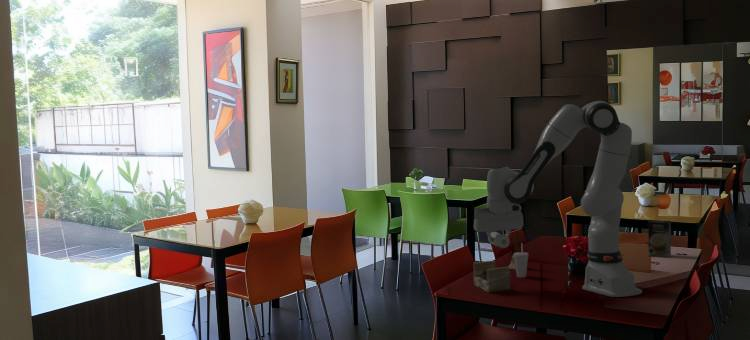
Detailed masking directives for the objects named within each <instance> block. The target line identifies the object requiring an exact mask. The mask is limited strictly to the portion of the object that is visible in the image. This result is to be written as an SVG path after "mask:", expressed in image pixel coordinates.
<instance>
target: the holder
mask: <svg viewBox="0 0 750 340" xmlns="http://www.w3.org/2000/svg"><path fill="white" fill-rule="evenodd" d="M472 265H473V266H472V268H473V285H474V286H476V287H477V288H479V287H480V288H479V289H481V288H482V290H483V289H484V290H483V291H485V292H486V293H488V294H491V293H496V292H498V291H499V292H505V290H507V291H511V279H510V278H511V276H510V275H511V274H510V273H511V271H510V270H511V269H509V267H508V266H502V267H496V261H495V260H485V261H476V262H472ZM490 292H491V293H490Z"/></svg>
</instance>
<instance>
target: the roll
mask: <svg viewBox="0 0 750 340" xmlns="http://www.w3.org/2000/svg"><path fill="white" fill-rule="evenodd" d="M490 235H491V237H493V238H494V242H489V237H488V236H487V240H488V242H489V243H490V244H491V245H494V246H496V247H499V248H501V249H506V248H507V247H509V245H510V237H509V238H508V237H507V236H505V235H506V234H502V233H501V232H500V233H499V232H498V231H491V234H490Z"/></svg>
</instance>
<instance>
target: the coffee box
mask: <svg viewBox="0 0 750 340" xmlns="http://www.w3.org/2000/svg"><path fill="white" fill-rule="evenodd" d="M671 225H672V221H670V220H655V219H650V220H649V221H648V228H647V229H648V230H647V231H648V233H647V235H648V239H647V240H648V243H647V244H648V245H647V248H648V250H647V251H648V253H647V254H648V255H647V256H648V257H656V258H670V257H671V255H672V253H671V250H672V249H671V247H672V246H671V242H672V241H671V239H672V237H671V236H672V235H671V234H672V233H671V230H672V226H671Z"/></svg>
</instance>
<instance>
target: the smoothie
mask: <svg viewBox="0 0 750 340" xmlns="http://www.w3.org/2000/svg"><path fill="white" fill-rule="evenodd" d="M520 245H521V246H520V247H521V252H517V253H515V252H514V253H512V254H513V255H512V256H514V260H515V266H516V270H515V271H516V272H515V273H516V277H517V278H526V277H527V270H528V261H529V253H528V252H525V251H524V249H523V248H524V246H523V243H522V242H521V243H520Z"/></svg>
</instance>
